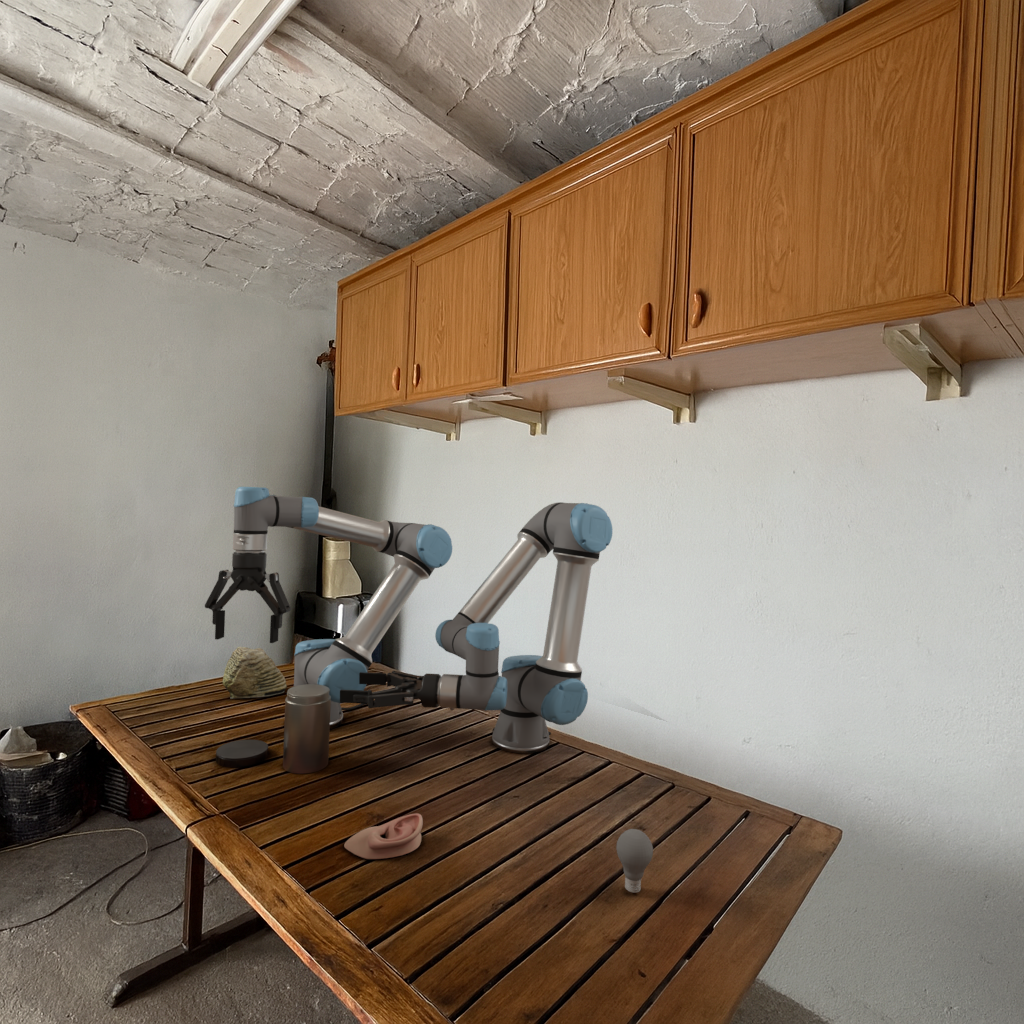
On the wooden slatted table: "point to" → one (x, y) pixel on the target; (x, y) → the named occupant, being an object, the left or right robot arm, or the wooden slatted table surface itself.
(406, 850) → the anatomical model
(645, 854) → the light bulb
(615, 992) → the wooden slatted table surface
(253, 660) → the fossil
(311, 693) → the jar
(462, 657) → the right robot arm
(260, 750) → the lid
